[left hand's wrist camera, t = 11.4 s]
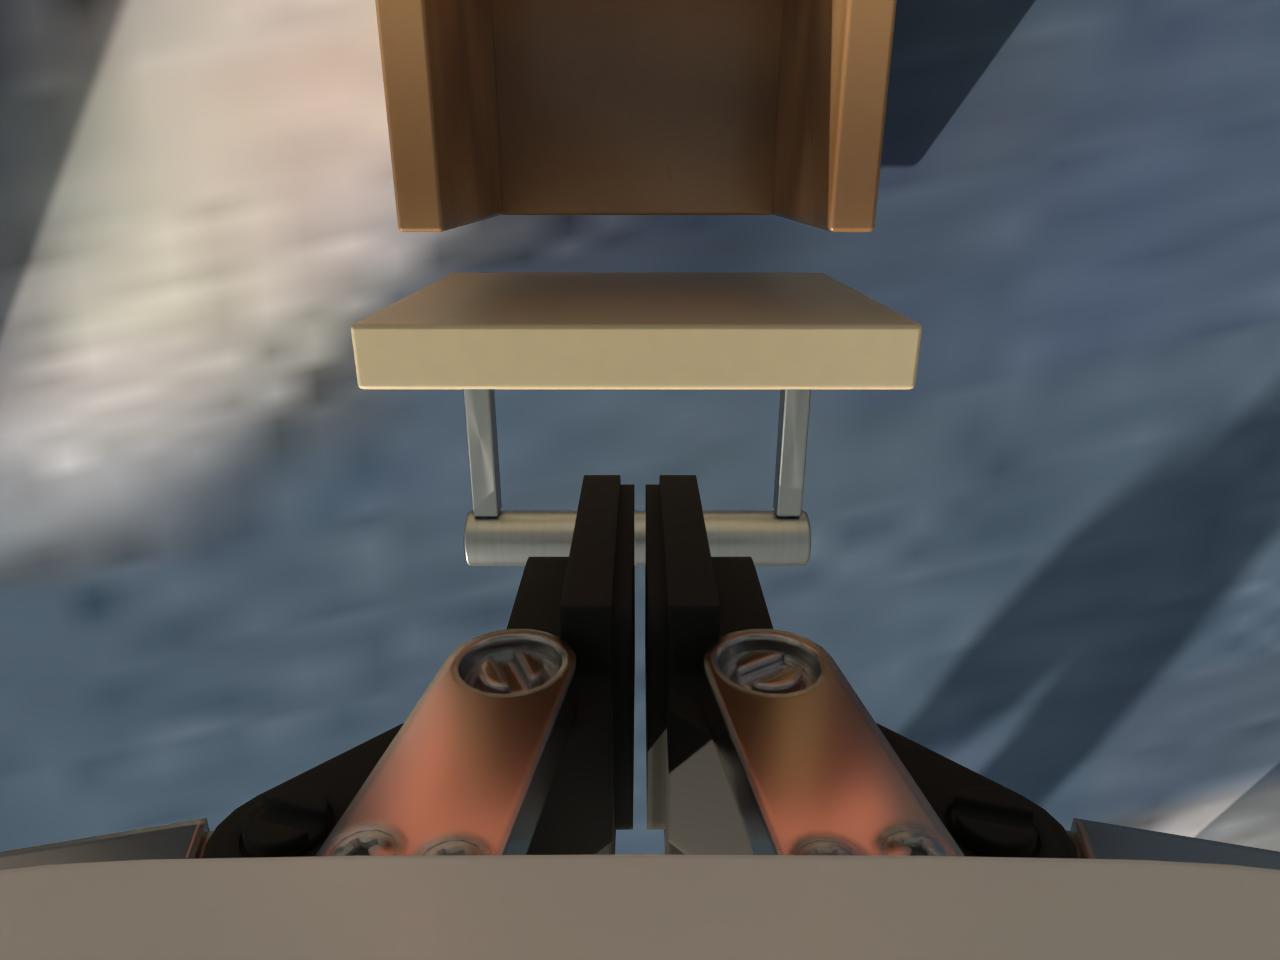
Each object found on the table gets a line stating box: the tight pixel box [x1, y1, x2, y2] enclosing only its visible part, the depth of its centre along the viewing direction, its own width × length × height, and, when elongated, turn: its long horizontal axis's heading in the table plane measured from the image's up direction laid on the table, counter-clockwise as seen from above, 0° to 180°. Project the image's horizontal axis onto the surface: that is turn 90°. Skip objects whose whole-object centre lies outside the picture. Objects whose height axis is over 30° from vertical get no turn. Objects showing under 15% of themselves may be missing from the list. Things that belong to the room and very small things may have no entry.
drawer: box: [351, 0, 922, 566], centre depth 16 cm, size 24×10×8 cm, turn 0°
